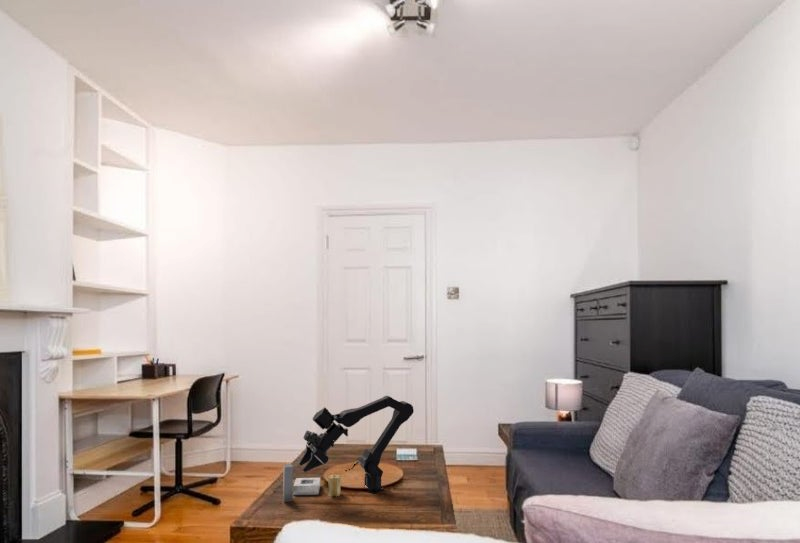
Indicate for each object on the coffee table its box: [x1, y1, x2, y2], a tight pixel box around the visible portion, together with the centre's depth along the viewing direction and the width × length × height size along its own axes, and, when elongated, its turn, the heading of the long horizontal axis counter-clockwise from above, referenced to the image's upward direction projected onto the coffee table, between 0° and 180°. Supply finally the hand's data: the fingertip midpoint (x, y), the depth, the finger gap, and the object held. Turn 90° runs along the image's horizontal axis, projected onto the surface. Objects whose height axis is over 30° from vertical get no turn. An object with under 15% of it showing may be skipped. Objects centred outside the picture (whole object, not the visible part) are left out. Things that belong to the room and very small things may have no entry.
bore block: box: [293, 477, 321, 496], centre depth 212 cm, size 10×10×4 cm
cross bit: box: [327, 474, 341, 498], centre depth 207 cm, size 5×5×7 cm
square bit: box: [282, 463, 294, 503], centre depth 201 cm, size 3×3×13 cm
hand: (301, 467), depth 204 cm, fingers open, 9 cm apart
